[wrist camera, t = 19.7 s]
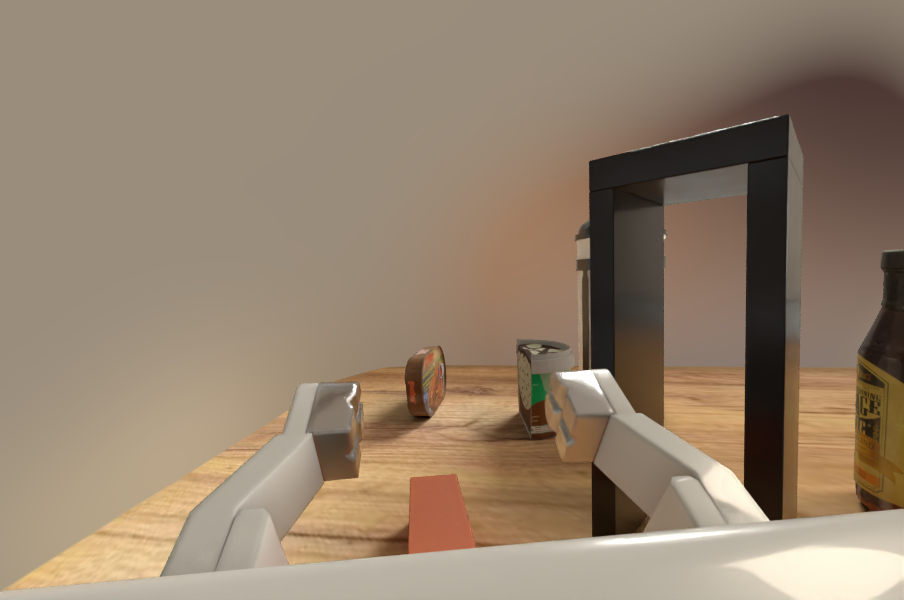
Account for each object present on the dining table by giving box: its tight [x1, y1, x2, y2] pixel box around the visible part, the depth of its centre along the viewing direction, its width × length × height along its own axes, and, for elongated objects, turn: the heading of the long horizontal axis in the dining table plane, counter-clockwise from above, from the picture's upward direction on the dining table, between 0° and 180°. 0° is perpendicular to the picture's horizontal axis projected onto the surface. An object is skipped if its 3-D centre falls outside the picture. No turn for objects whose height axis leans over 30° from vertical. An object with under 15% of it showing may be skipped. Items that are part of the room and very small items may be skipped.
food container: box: [516, 339, 575, 440], centre depth 50 cm, size 12×6×10 cm, turn 179°
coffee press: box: [575, 220, 667, 370], centre depth 62 cm, size 17×16×30 cm
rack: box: [589, 114, 803, 537], centre depth 27 cm, size 10×10×26 cm
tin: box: [405, 345, 446, 417], centre depth 58 cm, size 15×3×8 cm, turn 170°
